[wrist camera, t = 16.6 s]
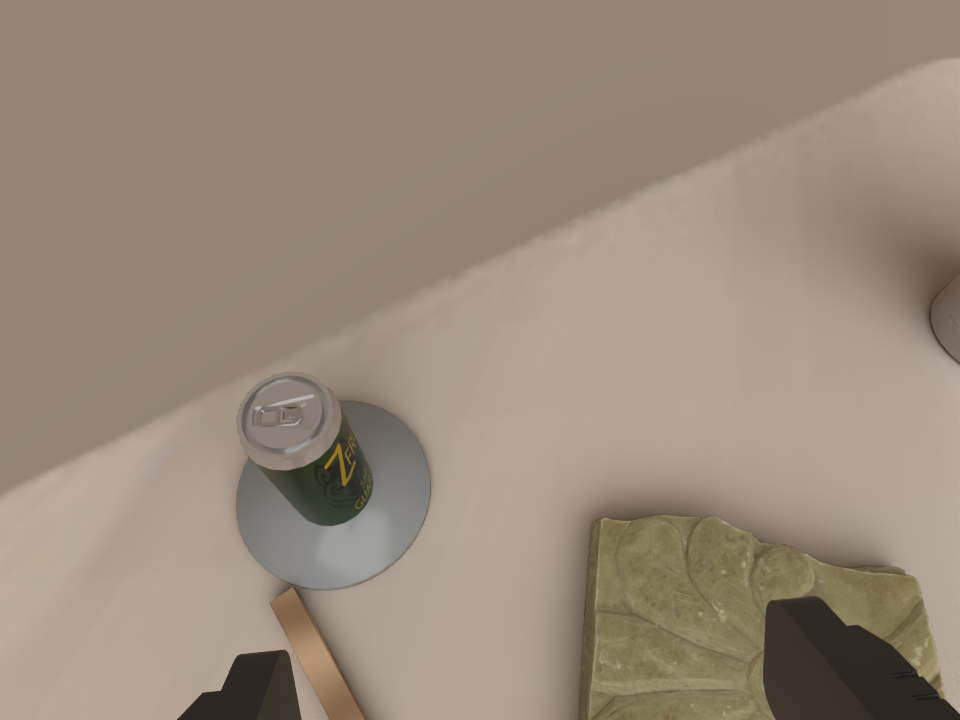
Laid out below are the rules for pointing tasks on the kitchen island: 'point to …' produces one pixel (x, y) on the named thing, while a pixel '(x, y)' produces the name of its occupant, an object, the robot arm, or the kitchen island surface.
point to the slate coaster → (360, 541)
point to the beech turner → (316, 658)
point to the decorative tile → (716, 617)
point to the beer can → (305, 447)
